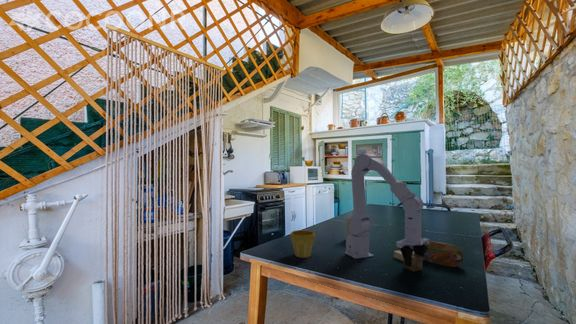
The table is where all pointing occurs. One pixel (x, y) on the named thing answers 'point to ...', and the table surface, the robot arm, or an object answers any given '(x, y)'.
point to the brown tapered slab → (443, 254)
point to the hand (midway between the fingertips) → (412, 264)
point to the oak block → (398, 255)
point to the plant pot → (302, 242)
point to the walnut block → (415, 263)
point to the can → (347, 227)
